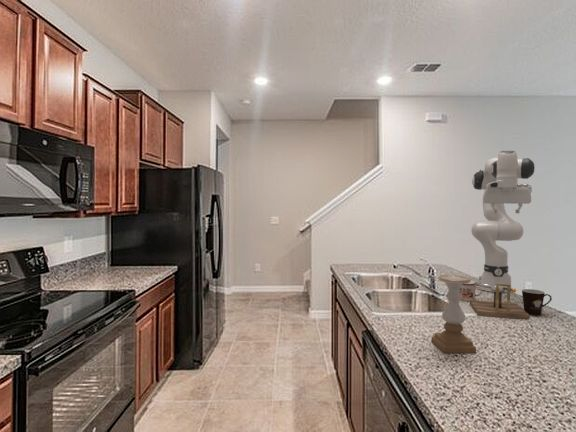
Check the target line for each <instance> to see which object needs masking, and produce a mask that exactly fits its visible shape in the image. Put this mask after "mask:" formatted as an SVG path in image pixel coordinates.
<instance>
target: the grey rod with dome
mask: <svg viewBox="0 0 576 432" xmlns="http://www.w3.org/2000/svg"><path fill="white" fill-rule="evenodd" d="M474 285H476V286H481V287H485V288H490V289H491V291H494V292H496V284H493V285H488V284H483V283H480V282H478V281H474ZM512 288H513V287H512ZM505 290H507V288H505V286H499V292H505ZM510 291H511V292H512V293H516V292H517V289H516V288H513V289H510ZM494 292H493V293H494ZM505 293H506V292H505Z"/></svg>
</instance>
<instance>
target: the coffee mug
mask: <svg viewBox="0 0 576 432" xmlns="http://www.w3.org/2000/svg"><path fill="white" fill-rule="evenodd" d="M521 293H522V294H521V295H522V296H521V297H522V303H523V306H522V307H523V310H524V311H526V312H527V313H528V314H529V316H541V315H542V310H543V307H545V306H547V305H549V303H550V302H551V301H552V295H550V294H548V293H546V292H545V291H543V290H540V289H532V288H530V289H529V288H527V289H525V288H524V289H521ZM546 296H548V297H549V300H548V301H547V302H546V303H544V300H545V299H544V298H545V297H546Z"/></svg>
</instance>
